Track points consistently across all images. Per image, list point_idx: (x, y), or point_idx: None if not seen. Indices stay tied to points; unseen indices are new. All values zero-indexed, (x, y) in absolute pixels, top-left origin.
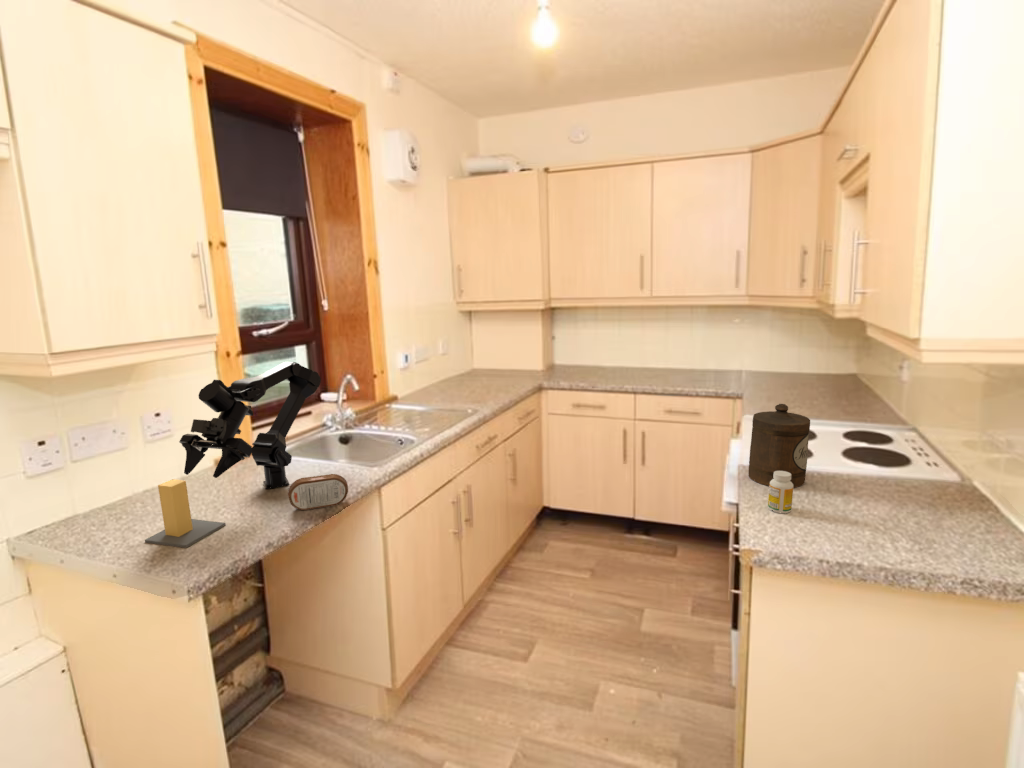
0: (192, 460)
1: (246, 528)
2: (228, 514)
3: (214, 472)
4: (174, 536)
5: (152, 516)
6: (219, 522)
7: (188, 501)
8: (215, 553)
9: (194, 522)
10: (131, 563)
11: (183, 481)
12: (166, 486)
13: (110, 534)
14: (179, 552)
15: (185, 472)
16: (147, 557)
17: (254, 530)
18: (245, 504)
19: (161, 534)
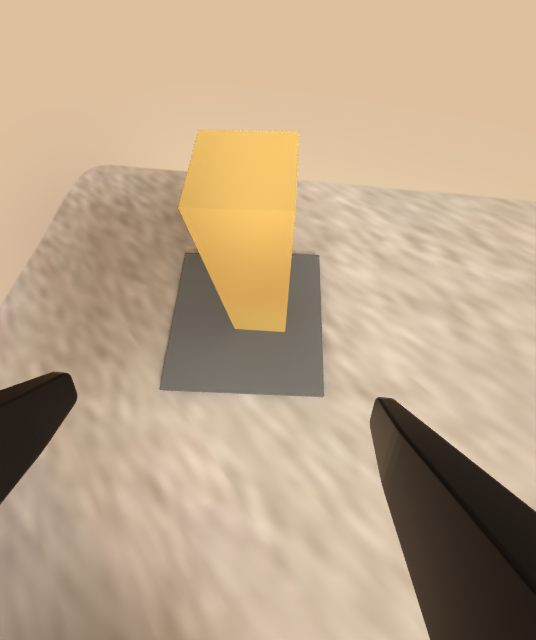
0: (468, 586)
1: (82, 382)
2: (208, 477)
3: (34, 386)
4: None
5: (478, 403)
6: (181, 388)
7: (213, 282)
8: (99, 251)
9: (267, 371)
10: None
11: (182, 194)
12: (232, 131)
13: (460, 274)
14: (189, 239)
15: (378, 400)
16: None
17: None
18: (198, 605)
19: (301, 286)
